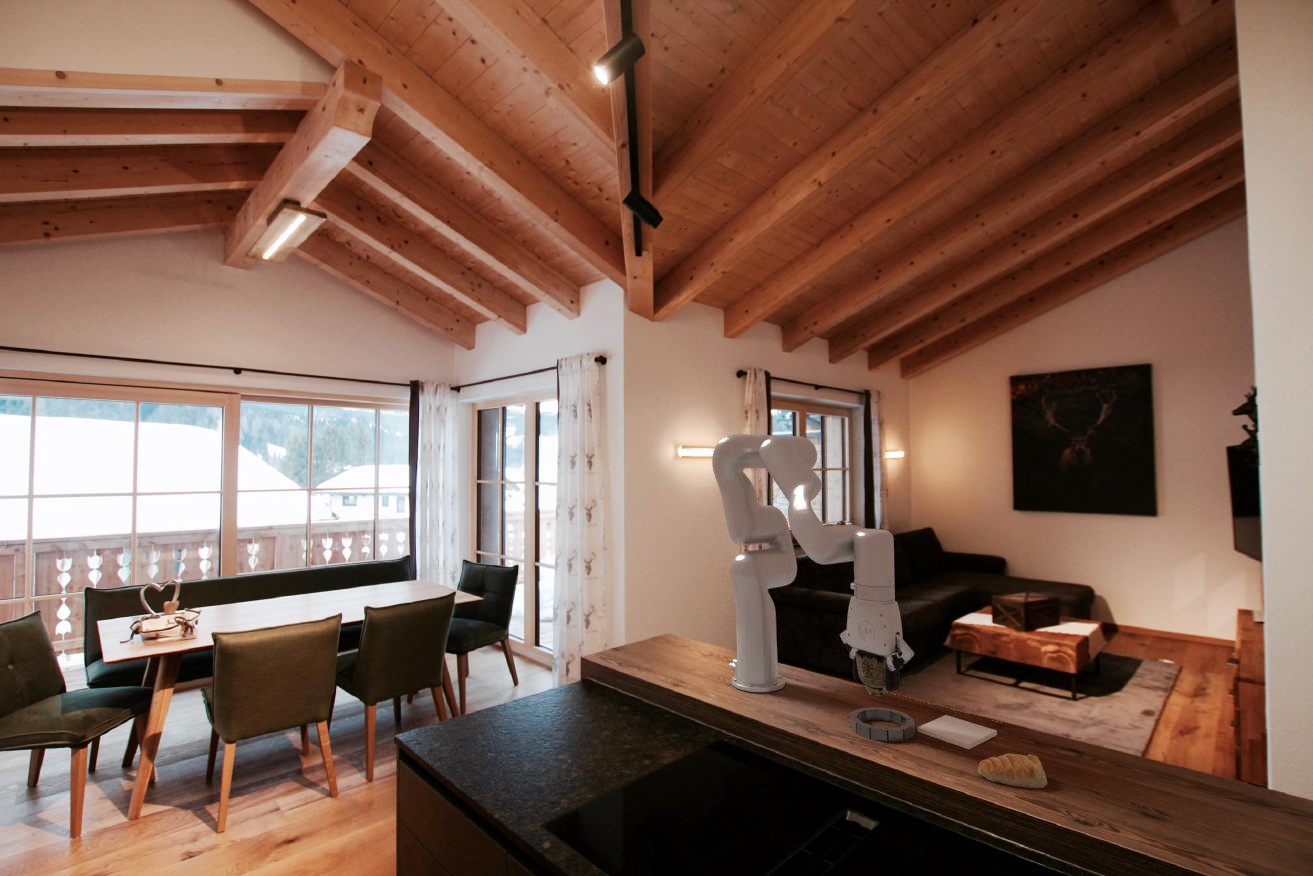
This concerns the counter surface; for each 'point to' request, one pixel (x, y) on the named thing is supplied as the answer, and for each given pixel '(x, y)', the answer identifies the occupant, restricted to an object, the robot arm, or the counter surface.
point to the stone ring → (881, 732)
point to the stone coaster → (957, 731)
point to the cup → (872, 672)
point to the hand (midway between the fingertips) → (875, 683)
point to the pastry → (1014, 770)
